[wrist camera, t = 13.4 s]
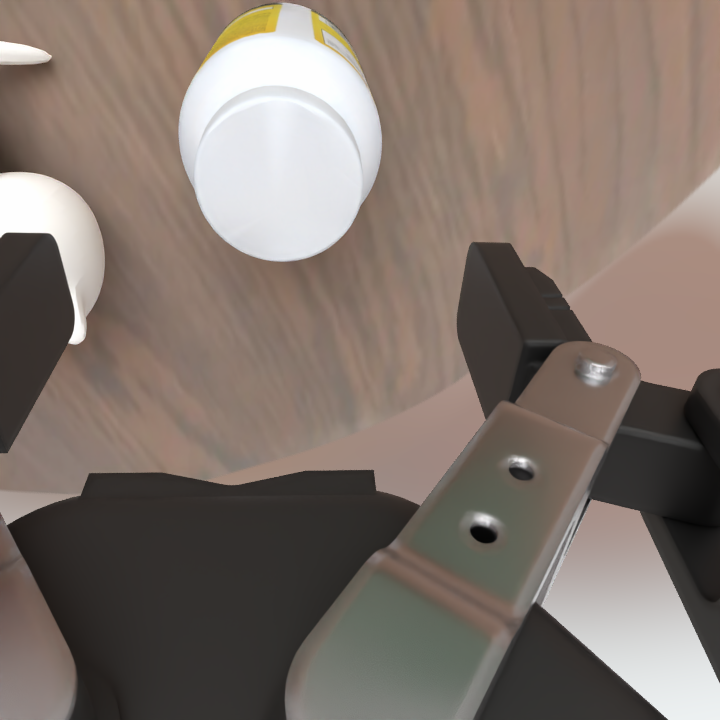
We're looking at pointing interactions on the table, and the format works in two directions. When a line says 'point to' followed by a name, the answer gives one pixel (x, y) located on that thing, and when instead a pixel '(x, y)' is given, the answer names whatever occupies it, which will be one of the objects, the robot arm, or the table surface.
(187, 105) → the pill bottle
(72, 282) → the cat figurine
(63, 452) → the table surface
